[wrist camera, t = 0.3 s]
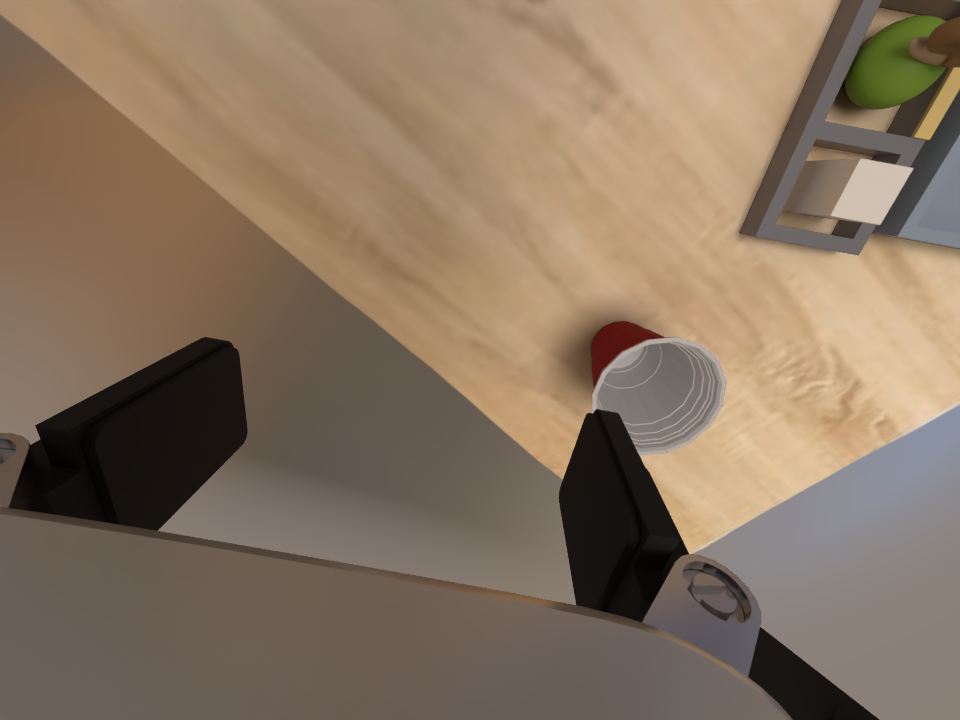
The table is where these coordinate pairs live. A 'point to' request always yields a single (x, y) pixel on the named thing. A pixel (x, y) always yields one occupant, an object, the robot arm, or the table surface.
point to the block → (847, 189)
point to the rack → (811, 129)
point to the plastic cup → (656, 385)
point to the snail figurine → (903, 61)
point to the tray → (931, 189)
